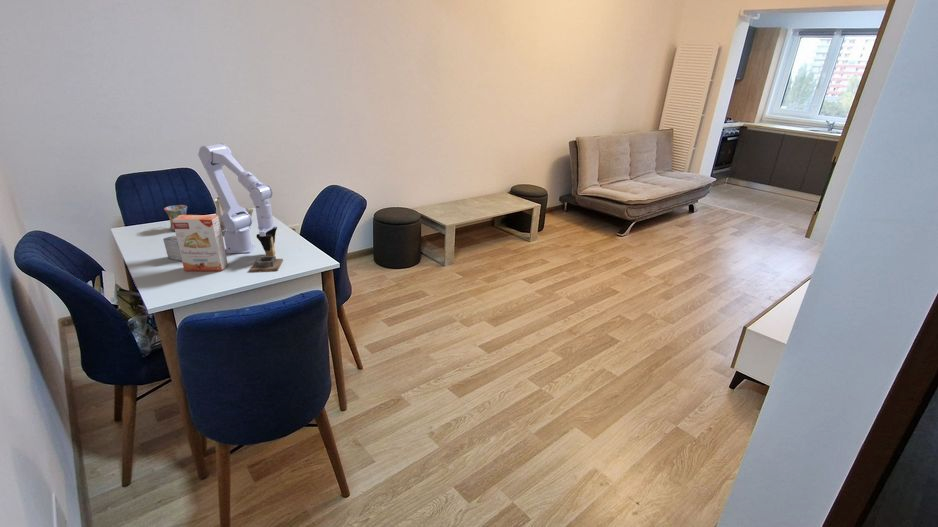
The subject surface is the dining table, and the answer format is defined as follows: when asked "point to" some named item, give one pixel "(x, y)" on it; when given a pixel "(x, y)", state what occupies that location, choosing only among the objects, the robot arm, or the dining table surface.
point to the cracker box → (200, 242)
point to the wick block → (271, 249)
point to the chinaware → (221, 210)
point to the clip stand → (266, 264)
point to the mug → (175, 213)
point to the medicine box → (172, 248)
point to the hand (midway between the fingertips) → (269, 247)
